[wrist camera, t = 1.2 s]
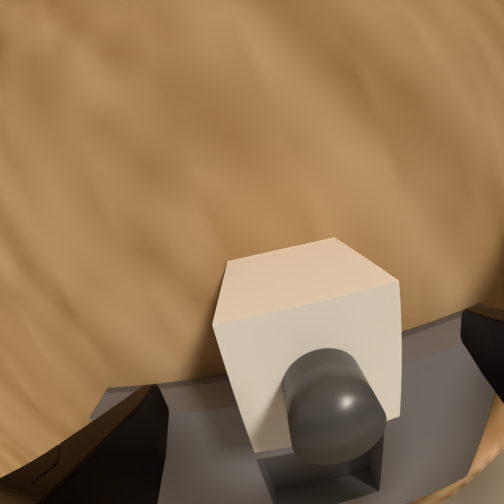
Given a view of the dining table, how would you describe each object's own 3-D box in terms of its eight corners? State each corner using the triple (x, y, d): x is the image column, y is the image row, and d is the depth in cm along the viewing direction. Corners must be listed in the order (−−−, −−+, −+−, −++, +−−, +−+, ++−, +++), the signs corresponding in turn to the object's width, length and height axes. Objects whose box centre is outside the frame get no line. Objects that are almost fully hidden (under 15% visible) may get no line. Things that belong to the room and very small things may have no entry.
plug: (334, 237, 13) (443, 312, 5) (347, 332, 14) (425, 460, 6) (227, 260, 13) (200, 373, 5) (252, 354, 14) (256, 505, 6)
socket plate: (480, 303, 13) (508, 320, 11) (453, 455, 16) (466, 476, 14) (107, 388, 14) (89, 417, 12) (189, 516, 17) (185, 541, 14)
